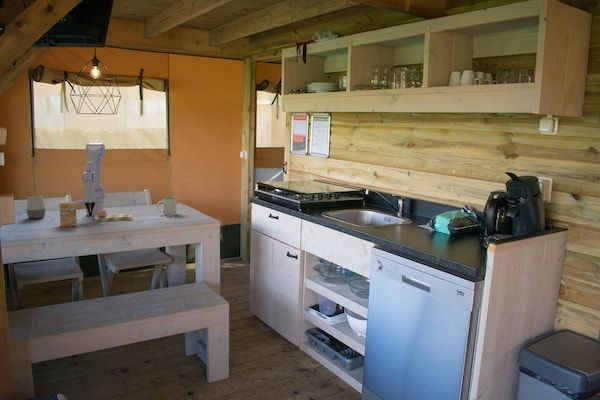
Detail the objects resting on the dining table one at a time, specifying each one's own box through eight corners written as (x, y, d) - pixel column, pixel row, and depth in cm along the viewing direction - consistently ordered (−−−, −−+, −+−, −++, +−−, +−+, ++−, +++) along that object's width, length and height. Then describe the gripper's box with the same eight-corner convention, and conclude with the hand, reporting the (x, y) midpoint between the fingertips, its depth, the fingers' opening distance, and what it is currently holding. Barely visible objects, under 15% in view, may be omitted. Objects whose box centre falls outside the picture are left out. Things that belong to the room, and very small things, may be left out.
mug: (158, 216, 299) (158, 199, 297) (155, 214, 306) (155, 197, 304) (178, 214, 305) (177, 198, 303) (174, 212, 312) (174, 196, 310)
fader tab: (98, 216, 282) (98, 211, 281) (98, 215, 285) (98, 210, 285) (105, 216, 283) (105, 211, 283) (105, 214, 287) (105, 209, 286)
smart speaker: (40, 216, 292) (38, 193, 290) (48, 217, 287) (47, 194, 285) (24, 218, 284) (22, 194, 282) (32, 220, 279) (31, 196, 277)
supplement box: (60, 227, 263) (59, 203, 261) (60, 225, 268) (59, 202, 266) (77, 225, 267) (76, 202, 265) (76, 224, 271) (75, 201, 269)
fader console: (94, 221, 279) (94, 218, 278) (94, 218, 288) (94, 215, 287) (131, 219, 286) (131, 216, 286) (130, 216, 295) (130, 213, 295)
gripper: (75, 193, 273) (76, 217, 275) (103, 193, 279) (104, 216, 281) (75, 192, 280) (77, 215, 282) (103, 191, 285) (103, 213, 287)
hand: (90, 215), depth 282 cm, fingers closed
